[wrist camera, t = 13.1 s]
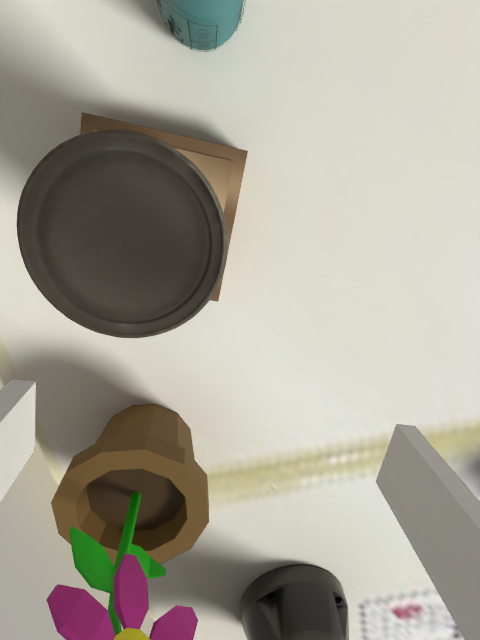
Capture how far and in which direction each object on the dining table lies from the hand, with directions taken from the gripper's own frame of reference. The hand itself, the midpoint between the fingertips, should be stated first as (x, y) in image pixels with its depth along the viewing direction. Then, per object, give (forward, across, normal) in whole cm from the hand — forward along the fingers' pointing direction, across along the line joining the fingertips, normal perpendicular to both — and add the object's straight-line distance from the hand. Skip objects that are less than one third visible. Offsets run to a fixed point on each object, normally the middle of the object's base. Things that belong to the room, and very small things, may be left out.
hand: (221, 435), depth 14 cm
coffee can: (+22, +5, -5) cm, 23 cm away
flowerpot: (+27, +4, +21) cm, 34 cm away
